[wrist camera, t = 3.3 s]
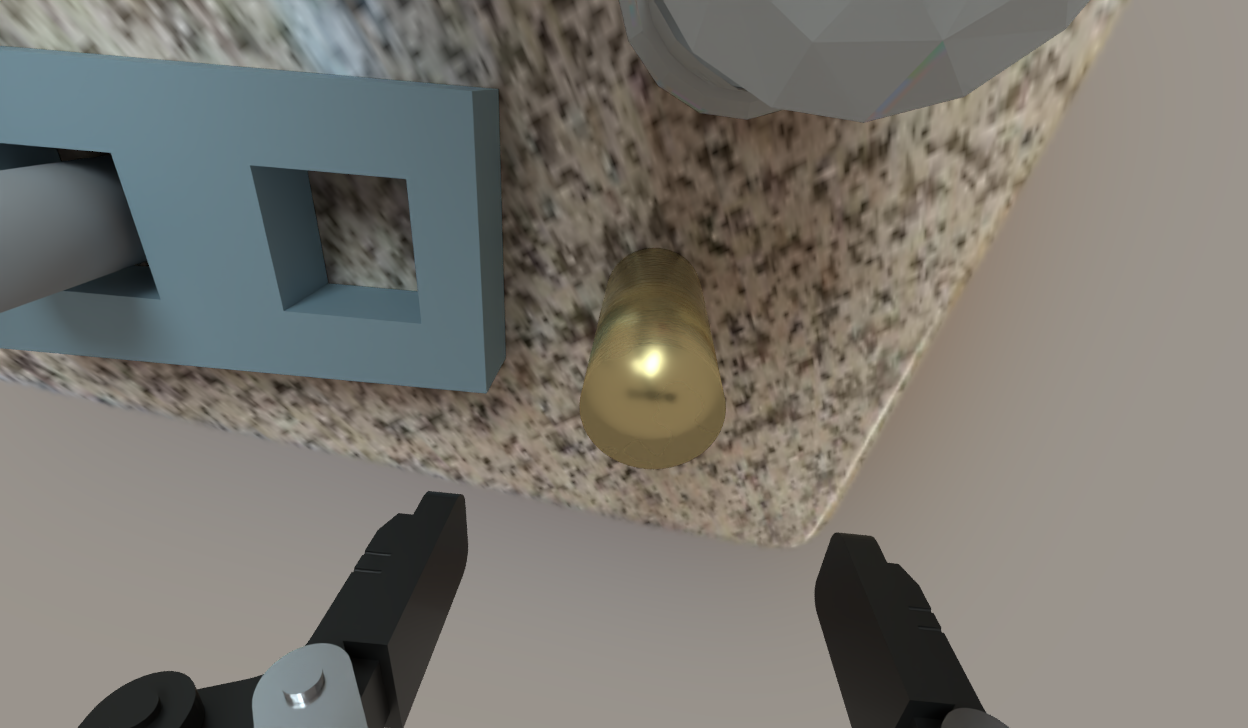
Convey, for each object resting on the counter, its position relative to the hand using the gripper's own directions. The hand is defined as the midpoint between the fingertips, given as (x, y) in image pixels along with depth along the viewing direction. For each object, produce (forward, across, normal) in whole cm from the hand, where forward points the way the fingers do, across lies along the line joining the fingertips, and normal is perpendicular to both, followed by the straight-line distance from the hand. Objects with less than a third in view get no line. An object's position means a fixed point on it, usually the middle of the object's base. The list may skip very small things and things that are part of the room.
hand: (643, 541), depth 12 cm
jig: (+15, +18, -2) cm, 24 cm away
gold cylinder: (+15, 0, 0) cm, 15 cm away
